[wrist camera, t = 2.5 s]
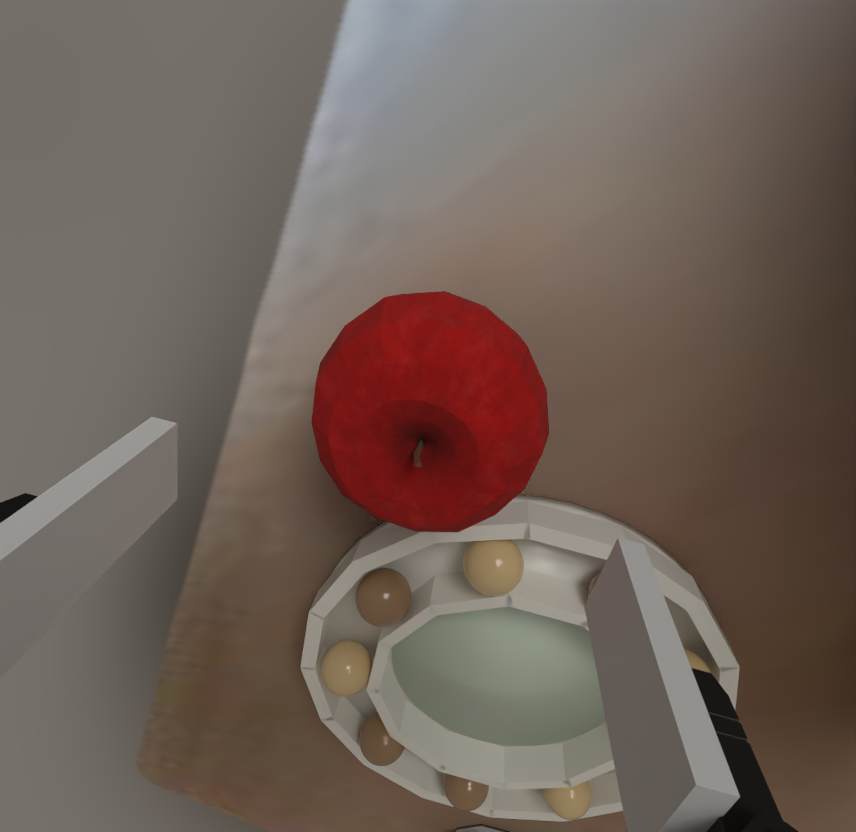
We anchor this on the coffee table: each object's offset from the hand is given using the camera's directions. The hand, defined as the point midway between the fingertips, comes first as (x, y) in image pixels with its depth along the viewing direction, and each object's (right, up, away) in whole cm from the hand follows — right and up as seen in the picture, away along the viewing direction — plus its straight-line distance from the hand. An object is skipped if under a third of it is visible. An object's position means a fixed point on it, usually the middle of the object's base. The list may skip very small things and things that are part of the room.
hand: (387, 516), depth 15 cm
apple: (+2, +6, +12) cm, 14 cm away
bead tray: (+7, -14, +21) cm, 26 cm away
